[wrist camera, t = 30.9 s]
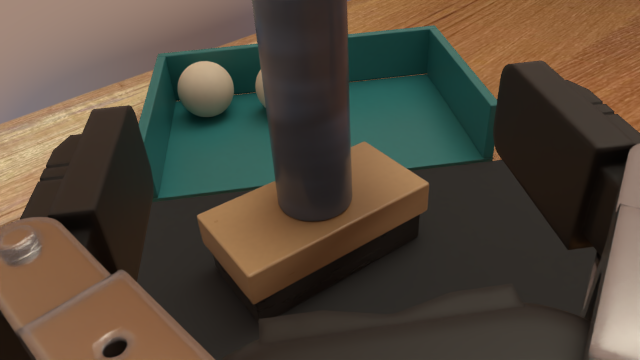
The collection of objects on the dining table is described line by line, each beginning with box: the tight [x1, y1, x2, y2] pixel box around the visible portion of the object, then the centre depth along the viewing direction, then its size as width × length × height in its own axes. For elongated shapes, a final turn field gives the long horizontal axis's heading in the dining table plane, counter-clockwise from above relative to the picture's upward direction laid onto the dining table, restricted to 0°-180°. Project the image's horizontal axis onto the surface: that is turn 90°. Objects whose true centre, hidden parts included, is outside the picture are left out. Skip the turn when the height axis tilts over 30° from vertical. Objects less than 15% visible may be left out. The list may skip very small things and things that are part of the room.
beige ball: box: [178, 61, 234, 117], centre depth 32 cm, size 3×3×3 cm
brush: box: [197, 0, 429, 323], centre depth 19 cm, size 8×4×11 cm, turn 125°
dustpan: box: [138, 26, 497, 202], centre depth 33 cm, size 16×17×3 cm
